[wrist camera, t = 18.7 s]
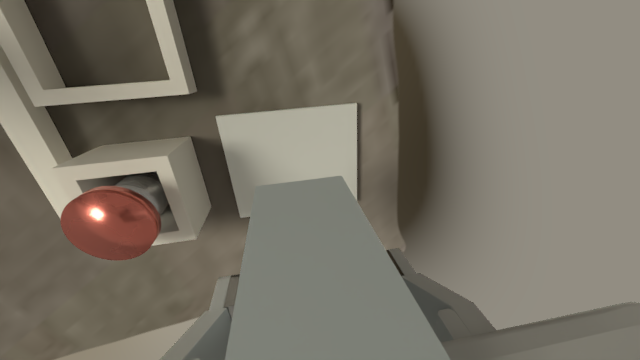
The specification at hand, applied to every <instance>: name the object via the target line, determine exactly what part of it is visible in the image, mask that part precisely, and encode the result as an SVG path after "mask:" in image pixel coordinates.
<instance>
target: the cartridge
mask: <svg viewBox="0 0 640 360" xmlns="http://www.w3.org/2000/svg"><path fill="white" fill-rule="evenodd" d="M225 360H450V358H449V356H448V354H447V353H446V351H445V349H444V348H443V346H442V344H441V343H440V341H439V339H438V338H437V336H436V334H435V333H434V331H433V329H432V327H431V326H430V324H429V322H428V321H427V319H426V317H425V316H424V314H423V312H422V311H421V309H420V307H419V305H418V304H417V302H416V300H415V299H414V297H413V295H412V294H411V292H410V290H409V289H408V287H407V285H406V284H405V282H404V280H403V278H402V277H401V275H400V273H399V272H398V270H397V268H396V267H395V265H394V263H393V262H392V260H391V258H390V257H389V255H388V253H387V251H386V250H385V248H384V246H383V245H382V243H381V241H380V240H379V238H378V236H377V235H376V233H375V231H374V229H373V228H372V226H371V224H370V223H369V221H368V219H367V218H366V216H365V214H364V213H363V211H362V209H361V208H360V206H359V204H358V202H357V201H356V199H355V197H354V196H353V194H352V192H351V191H350V189H349V187H348V186H347V184H346V182H345V180H344V179H343V177H342V176H334V177H326V178H318V179H310V180H302V181H294V182H286V183H278V184H270V185H262V186H256V187H255V193H254V198H253V204H252V210H251V215H250V221H249V226H248V232H247V238H246V243H245V249H244V255H243V260H242V266H241V272H240V277H239V283H238V288H237V294H236V300H235V305H234V311H233V317H232V322H231V328H230V334H229V339H228V345H227V350H226V356H225Z"/></svg>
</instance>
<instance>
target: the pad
mask: <svg viewBox="0 0 640 360" xmlns="http://www.w3.org/2000/svg"><path fill="white" fill-rule="evenodd" d="M216 121H217V125H218V129H219V133H220V137H221V141H222V145H223V149H224V153H225V157H226V161H227V165H228V169H229V174H230V178H231V182H232V186H233V190H234V194H235V198H236V202H237V206H238V210H239V214H240V218H244V217H250V215H251V210H252V204H253V198H254V193H255V187H256V186H262V185H270V184H278V183H286V182H294V181H302V180H310V179H318V178H326V177H334V176H342V177H343V179H344V180H345V182H346V184H347V186H348V187H349V189H350V191H351V192H352V194H353V196H354V197H355V199H356V201H357V103H347V104H336V105H325V106H314V107H304V108H293V109H282V110H272V111H261V112H250V113H239V114H229V115H218V116H216Z"/></svg>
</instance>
